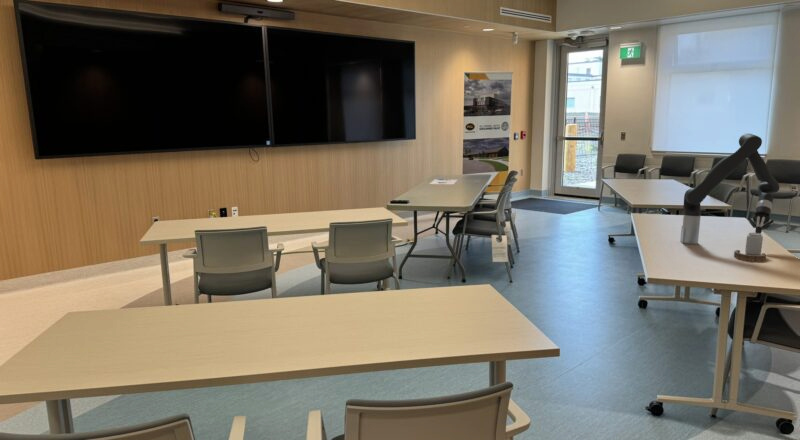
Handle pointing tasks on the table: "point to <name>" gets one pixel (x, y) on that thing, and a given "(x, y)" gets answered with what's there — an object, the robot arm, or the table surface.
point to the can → (754, 244)
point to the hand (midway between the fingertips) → (758, 233)
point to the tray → (749, 256)
